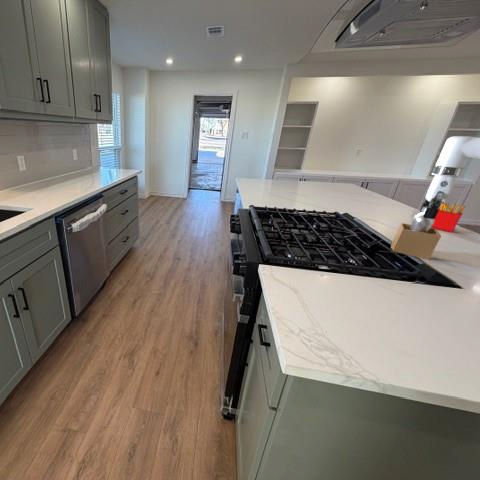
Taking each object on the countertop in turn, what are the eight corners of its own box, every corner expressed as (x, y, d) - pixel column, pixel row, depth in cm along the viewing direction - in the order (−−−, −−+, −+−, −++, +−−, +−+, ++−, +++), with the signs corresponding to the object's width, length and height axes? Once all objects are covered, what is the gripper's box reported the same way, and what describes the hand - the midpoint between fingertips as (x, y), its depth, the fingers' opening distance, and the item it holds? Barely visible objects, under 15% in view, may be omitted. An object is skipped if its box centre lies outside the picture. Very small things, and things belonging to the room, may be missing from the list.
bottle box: (423, 254, 109) (436, 229, 104) (427, 262, 101) (441, 236, 97) (390, 246, 115) (400, 222, 110) (391, 254, 108) (402, 228, 103)
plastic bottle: (396, 252, 108) (417, 207, 101) (399, 248, 113) (419, 204, 105) (416, 257, 104) (439, 210, 96) (419, 253, 108) (441, 208, 100)
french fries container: (430, 225, 146) (442, 201, 140) (453, 230, 139) (466, 205, 133) (428, 227, 142) (440, 203, 136) (451, 232, 135) (465, 207, 130)
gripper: (467, 175, 86) (444, 222, 93) (456, 170, 99) (435, 212, 105) (437, 172, 90) (416, 218, 97) (429, 168, 103) (411, 209, 110)
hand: (426, 215), depth 101 cm, fingers open, 9 cm apart
